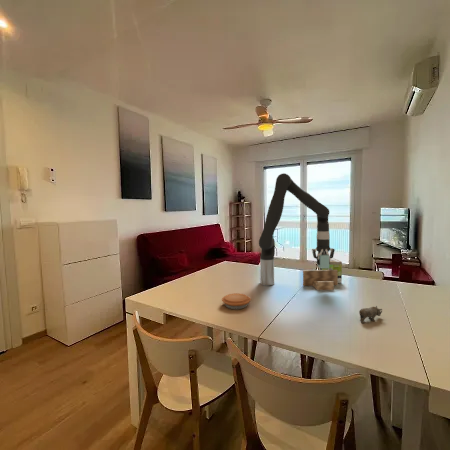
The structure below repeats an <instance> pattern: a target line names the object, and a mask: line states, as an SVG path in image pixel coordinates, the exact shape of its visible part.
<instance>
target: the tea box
mask: <svg viewBox="0 0 450 450" xmlns="http://www.w3.org/2000/svg"><path fill="white" fill-rule="evenodd" d="M342 268H343V261H341V260H339V259H336V258H334V257H333V258H331V259H330V264H329V268H320V267H319V270H338V284H342V281H343V269H342Z"/></svg>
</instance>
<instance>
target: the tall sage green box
mask: <svg viewBox="0 0 450 450" xmlns="http://www.w3.org/2000/svg"><path fill="white" fill-rule="evenodd" d="M329 256H330V254H329V255H326V254H325V251H323V254H322V255H320V265H318V264H317V267H318V268H319V269H320V268H329Z"/></svg>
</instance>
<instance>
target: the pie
mask: <svg viewBox="0 0 450 450" xmlns="http://www.w3.org/2000/svg"><path fill="white" fill-rule="evenodd" d="M251 300H252V299H251V297H250V296H248V295H246V294H244V293H238V292H237V293H229V294H227V295H225V296H222V298H221V301H222V303H223V304H224V306H225V307H226V308H227V309H229V310H242V309H245V308H247V306H248V305H249V303H250V302H251Z"/></svg>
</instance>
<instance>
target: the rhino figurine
mask: <svg viewBox="0 0 450 450" xmlns="http://www.w3.org/2000/svg"><path fill="white" fill-rule="evenodd" d="M382 313H383V308H378V306H377V305H376V306H371V307H365V308H361V309H360V310H359V316H360V317H359V318H360V321H361V324H366V321H365V320H366V319H367V318H368V319H369V320H371V321H372V322H376V320H375V318H376V317H377V316H378V317H380V316H381V314H382Z"/></svg>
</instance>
